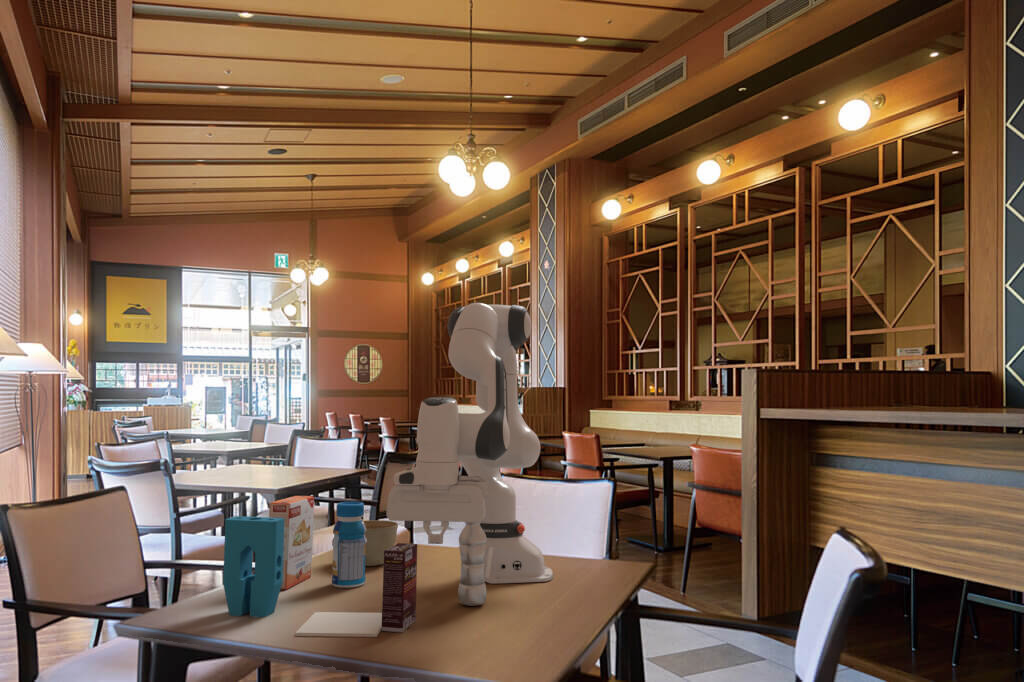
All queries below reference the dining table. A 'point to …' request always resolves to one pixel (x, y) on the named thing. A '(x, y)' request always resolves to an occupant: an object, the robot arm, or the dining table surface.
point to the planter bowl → (379, 540)
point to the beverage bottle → (349, 546)
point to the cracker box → (295, 537)
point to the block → (238, 579)
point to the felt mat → (342, 624)
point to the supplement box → (399, 587)
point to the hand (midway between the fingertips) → (435, 543)
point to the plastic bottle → (472, 565)
